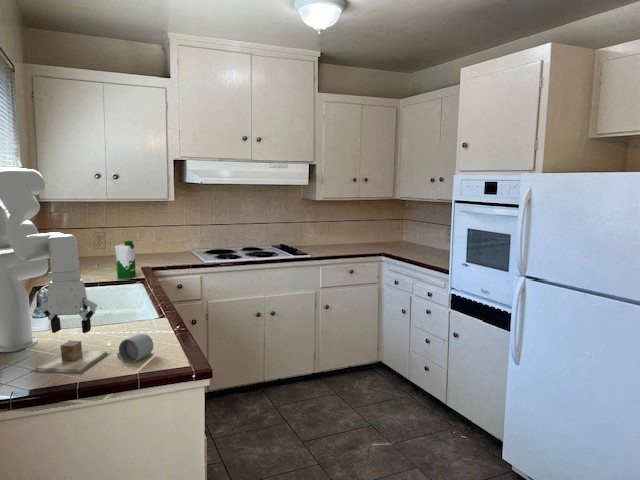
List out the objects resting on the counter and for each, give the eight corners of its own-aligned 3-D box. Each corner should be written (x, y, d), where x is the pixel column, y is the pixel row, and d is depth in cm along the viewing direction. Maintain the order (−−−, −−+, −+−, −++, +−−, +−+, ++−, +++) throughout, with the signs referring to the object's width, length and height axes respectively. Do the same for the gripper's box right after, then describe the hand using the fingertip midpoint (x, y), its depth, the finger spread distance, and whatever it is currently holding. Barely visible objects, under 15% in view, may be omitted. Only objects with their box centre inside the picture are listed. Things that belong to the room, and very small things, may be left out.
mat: (29, 373, 139) (29, 371, 139) (64, 352, 154) (64, 351, 154) (81, 376, 137) (81, 374, 137) (111, 354, 153) (111, 353, 153)
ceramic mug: (156, 355, 153) (154, 332, 152) (139, 365, 145) (137, 340, 144) (128, 351, 156) (126, 329, 155) (110, 361, 148) (108, 337, 147)
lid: (35, 370, 139) (33, 351, 139) (65, 352, 153) (64, 334, 152) (80, 372, 138) (78, 353, 137) (106, 354, 152) (105, 336, 151)
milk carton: (131, 279, 256) (129, 242, 253) (114, 279, 256) (112, 242, 253) (138, 275, 264) (136, 240, 261) (122, 275, 265) (120, 239, 262)
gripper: (30, 279, 139) (36, 335, 141) (85, 278, 137) (91, 336, 139) (47, 273, 146) (53, 327, 148) (100, 273, 144) (105, 328, 146)
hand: (71, 331), depth 144 cm, fingers open, 9 cm apart
